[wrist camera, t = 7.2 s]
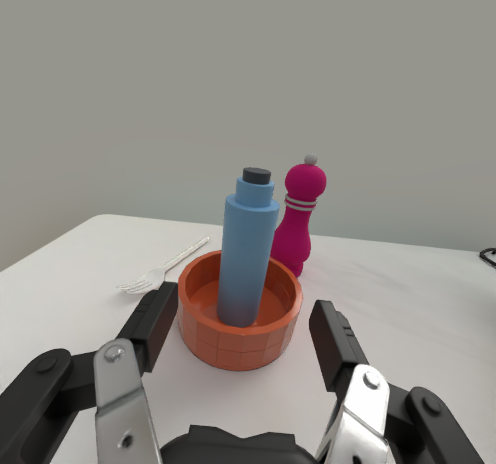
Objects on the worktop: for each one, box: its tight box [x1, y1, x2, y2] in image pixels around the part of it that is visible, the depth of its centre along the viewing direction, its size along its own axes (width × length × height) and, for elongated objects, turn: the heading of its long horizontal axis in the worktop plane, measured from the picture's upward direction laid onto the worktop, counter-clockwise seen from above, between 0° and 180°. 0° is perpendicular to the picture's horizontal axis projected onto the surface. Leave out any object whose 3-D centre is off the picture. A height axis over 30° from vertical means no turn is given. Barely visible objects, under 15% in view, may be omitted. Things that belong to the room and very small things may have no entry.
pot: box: [178, 250, 303, 371], centre depth 26 cm, size 15×15×6 cm
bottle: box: [217, 168, 280, 328], centre depth 23 cm, size 5×5×18 cm
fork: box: [117, 237, 210, 294], centre depth 35 cm, size 3×20×2 cm, turn 157°
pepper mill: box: [270, 153, 326, 277], centre depth 34 cm, size 7×7×20 cm
